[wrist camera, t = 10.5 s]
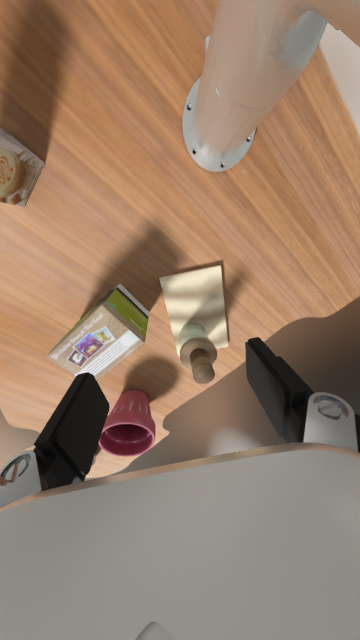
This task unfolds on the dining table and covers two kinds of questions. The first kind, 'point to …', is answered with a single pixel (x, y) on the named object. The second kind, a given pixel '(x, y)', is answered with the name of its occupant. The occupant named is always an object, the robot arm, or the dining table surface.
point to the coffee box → (17, 170)
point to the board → (196, 303)
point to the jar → (192, 332)
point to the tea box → (103, 335)
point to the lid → (199, 358)
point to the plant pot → (129, 426)
